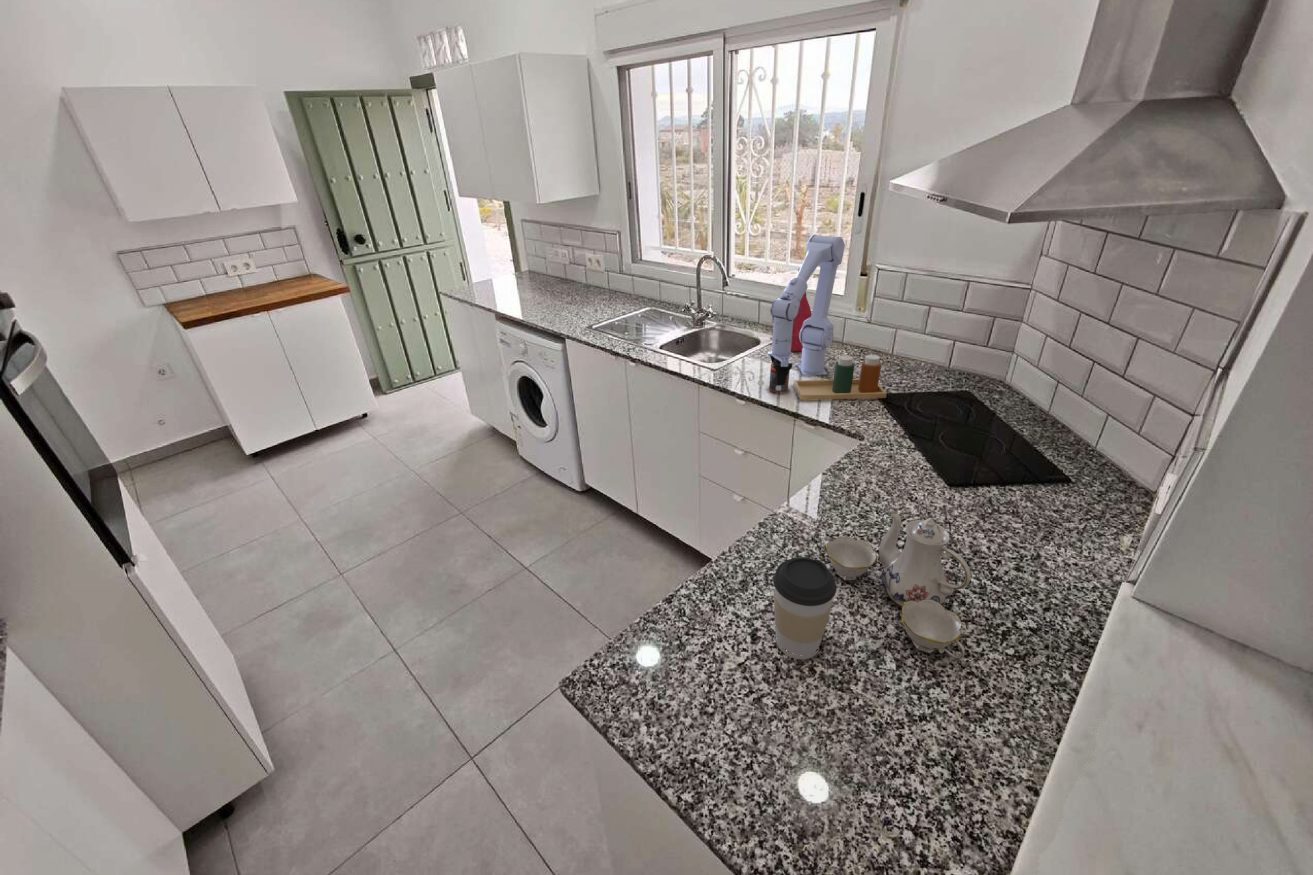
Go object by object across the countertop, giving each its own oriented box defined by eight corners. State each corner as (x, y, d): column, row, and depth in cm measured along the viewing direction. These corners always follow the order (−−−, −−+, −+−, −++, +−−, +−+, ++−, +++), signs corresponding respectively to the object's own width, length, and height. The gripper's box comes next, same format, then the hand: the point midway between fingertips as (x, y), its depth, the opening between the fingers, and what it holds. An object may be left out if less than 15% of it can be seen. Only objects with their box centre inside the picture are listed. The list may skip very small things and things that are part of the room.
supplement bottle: (782, 395, 168) (785, 361, 163) (765, 391, 172) (767, 357, 166) (791, 388, 172) (794, 355, 167) (774, 384, 176) (776, 351, 170)
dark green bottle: (830, 387, 171) (834, 354, 165) (848, 387, 170) (852, 354, 165) (834, 394, 166) (838, 361, 160) (853, 394, 165) (857, 360, 160)
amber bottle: (855, 387, 170) (860, 354, 165) (873, 386, 170) (879, 353, 165) (860, 394, 165) (866, 360, 160) (879, 393, 165) (885, 360, 160)
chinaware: (806, 574, 101) (807, 505, 92) (869, 536, 107) (876, 468, 98) (940, 687, 79) (958, 611, 71) (1010, 632, 85) (1034, 556, 77)
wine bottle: (782, 343, 210) (787, 264, 196) (807, 344, 209) (815, 264, 195) (783, 352, 202) (790, 270, 188) (810, 352, 200) (819, 270, 186)
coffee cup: (790, 674, 81) (799, 601, 73) (757, 630, 88) (762, 560, 81) (839, 652, 84) (851, 580, 76) (803, 612, 91) (811, 543, 84)
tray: (793, 386, 174) (793, 380, 173) (873, 384, 173) (874, 378, 172) (800, 401, 164) (800, 395, 163) (885, 399, 163) (886, 393, 162)
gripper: (765, 331, 170) (763, 371, 177) (772, 347, 158) (769, 389, 164) (788, 331, 170) (784, 371, 176) (796, 346, 157) (793, 389, 164)
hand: (779, 380), depth 170 cm, fingers closed on supplement bottle, 6 cm apart
